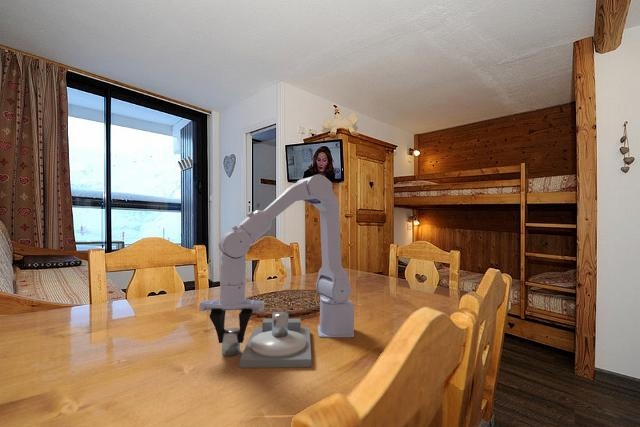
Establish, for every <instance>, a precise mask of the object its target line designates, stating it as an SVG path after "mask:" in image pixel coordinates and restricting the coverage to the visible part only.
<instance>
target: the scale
mask: <svg viewBox="0 0 640 427" xmlns="http://www.w3.org/2000/svg"><path fill="white" fill-rule="evenodd" d="M261 324H262V325H261V326H254V327H253V330H252V331H251V333H250V336H249V338H248V341H247V343H246V345H245V348H244V349H243V352H242V354H241V356H240V358H239V364H238V365H239V369H245V368H246V369H247V368H249V369H250V368H251V369H252V368H253V369H255V368H260V369H261V368H311V367H312V349H311V347H312V345H311V334H310V333H311V332H310V328H311V327H310V326H301V318H288V335H287V336H285V337H273V336H272V318H263V320H262V322H261Z"/></svg>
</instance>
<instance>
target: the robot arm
mask: <svg viewBox="0 0 640 427" xmlns="http://www.w3.org/2000/svg"><path fill="white" fill-rule="evenodd" d="M299 201H303V202H306V203H309V204H311V205H312V206H314V207H315V208H316V209H317V211H319V225H320V226H319V227H320V228H319V229H320V248H321V250H320V251H321V252H320V253H321V267H320V269H319V270H318V276H317V280H316V283H315V288H316V291H317V293H318V294H319V324H318V325H317V332H318V337H319V338H355V334H354V333H355V307H354V302H353V300H350V296H351V294H352V286H351V284H350V282H349V276H348V273H347V271H346V270H345V269H344V267H343V266H342V249H341V246H342V245H341V225H340V206H339V200H338V198H337V196H336V194H335V192H334V190H333V182H332V181H330V179H328V178H327V177H326V176H325V175H323V174H319V173H317V174H314V175H312V176H308V177H304V178H299V180H297V181H296V182H295V183H293V184H291V185H290V186H289V187H288V188H286V189H285V190H284V191H283V192H282V193H281V194H280V195H279V196H277V197H276V199H274V200H273V201H272V202H270V204H268V205H267V207H266V208H264V209H263V210H260V209H259V210H258V209H257V210H256V209H255V211H249V212H248V213H247V214H246V216H247V217H246V218H245V219H243V220H242V221H241V222H240V223H238V224H237V225H236V224H235V225H233V226H232V227H231V229H232V231H228V232H226V233H224V234H223V235H222V236H221V238H220V241H219V242H218V249H219V251H220V252H221V257H220V259H221V260H220V262H221V263H220V272H219V274H220V279H219V280H220V281H219V285H220V286H219V299H209V300H201V301H200V302H199V310H198V311H199V312H205V311H210V313H209V319H210V321H211V322H212V324H213V326H214V328H215V331H216V334H217V335H216V336H217V339H218V344H222V331H223V330H224V329H225V322H226V321H225V320H226V311H240V313H239V315H238V320H239V329H240V333H239V343H240V344H243V342H244V340H245V335H246V329H247V326H248V324H249V321H250V319H251V316H252V314H253V312H254V311H258V312H263V311H264V310H265V300H256V299H248V298H246V277H247V276H246V275H247V273H246V270H247V264H246V263H247V262H246V259H247V258H246V257H247V255H246V254H248V252H249V250H250V248H251V245H253V244H254V243H255V242H257V240H259V239H260V238H261V237H262V236H263V235H264V234H266V232H268V231H269V230H270V229H272V224H273V220H275V218H276V217H278V216H279V215H280V214H282V213H283V212H284V211H285V210H287V209H288V208H289V207H291V206H292V205H293V204H294V203H295V202H299ZM348 299H349V300H348Z"/></svg>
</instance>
